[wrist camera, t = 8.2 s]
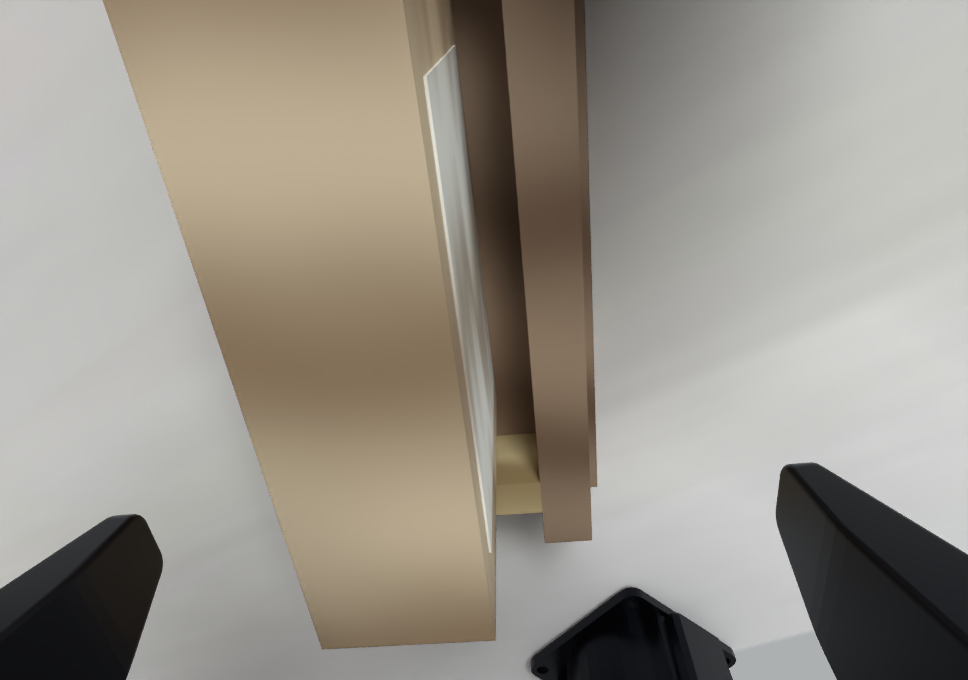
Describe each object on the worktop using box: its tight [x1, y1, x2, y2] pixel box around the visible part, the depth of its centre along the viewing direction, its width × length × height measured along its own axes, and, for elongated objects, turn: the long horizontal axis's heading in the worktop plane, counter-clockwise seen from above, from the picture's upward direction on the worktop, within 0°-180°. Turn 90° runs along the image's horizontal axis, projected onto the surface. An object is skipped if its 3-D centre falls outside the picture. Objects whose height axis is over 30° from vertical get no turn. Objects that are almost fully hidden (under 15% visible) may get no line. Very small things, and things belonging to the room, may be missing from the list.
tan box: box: [103, 0, 497, 649], centre depth 14 cm, size 12×4×9 cm, turn 6°
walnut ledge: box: [452, 0, 597, 543], centre depth 18 cm, size 20×10×4 cm, turn 6°
